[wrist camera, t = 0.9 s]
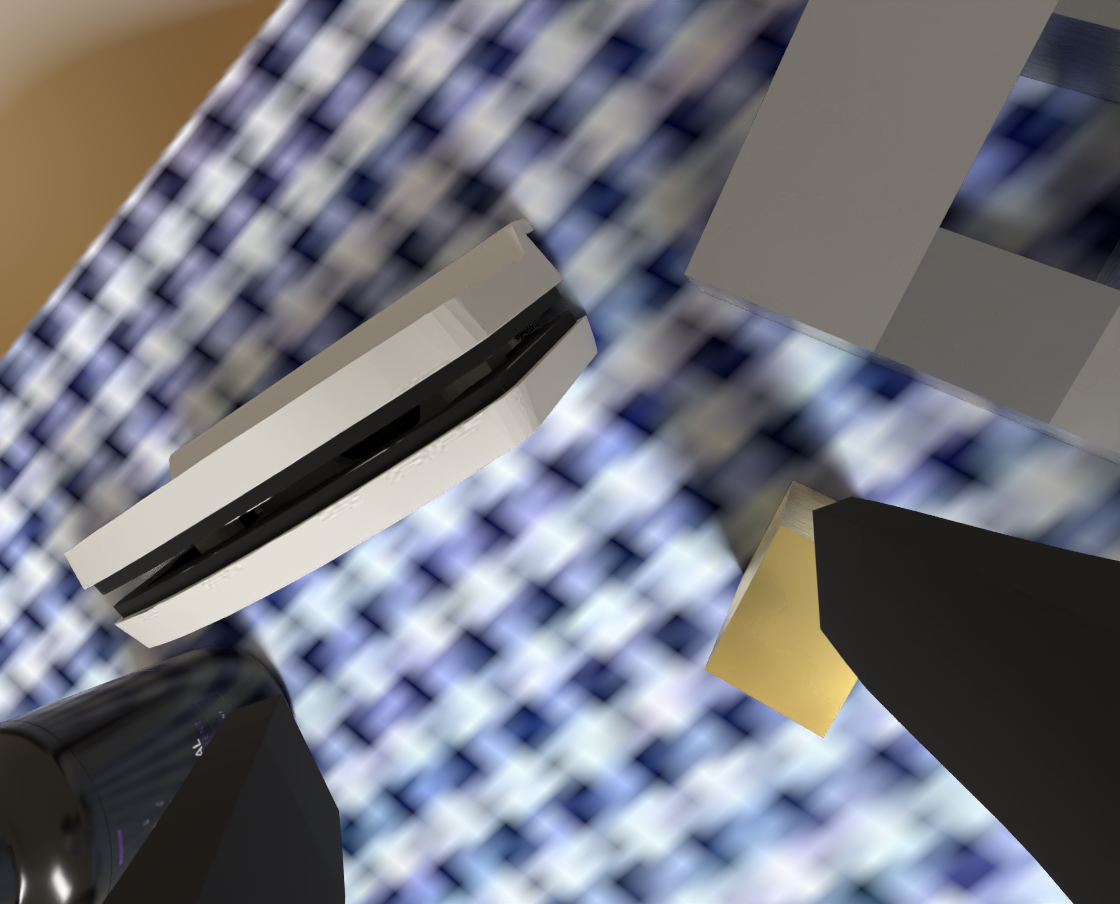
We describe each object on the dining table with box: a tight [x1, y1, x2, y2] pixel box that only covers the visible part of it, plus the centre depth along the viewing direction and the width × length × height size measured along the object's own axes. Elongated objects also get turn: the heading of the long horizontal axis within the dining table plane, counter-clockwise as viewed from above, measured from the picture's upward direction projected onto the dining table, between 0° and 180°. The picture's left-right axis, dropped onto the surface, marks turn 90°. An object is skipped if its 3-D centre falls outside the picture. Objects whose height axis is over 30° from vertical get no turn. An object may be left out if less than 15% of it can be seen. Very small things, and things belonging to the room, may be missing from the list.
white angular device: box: [64, 218, 598, 648], centre depth 21 cm, size 17×5×10 cm, turn 118°
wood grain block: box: [705, 480, 858, 737], centre depth 17 cm, size 2×3×8 cm
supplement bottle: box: [0, 646, 290, 904], centre depth 23 cm, size 7×7×12 cm
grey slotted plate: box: [684, 0, 1120, 465], centre depth 16 cm, size 14×11×3 cm
